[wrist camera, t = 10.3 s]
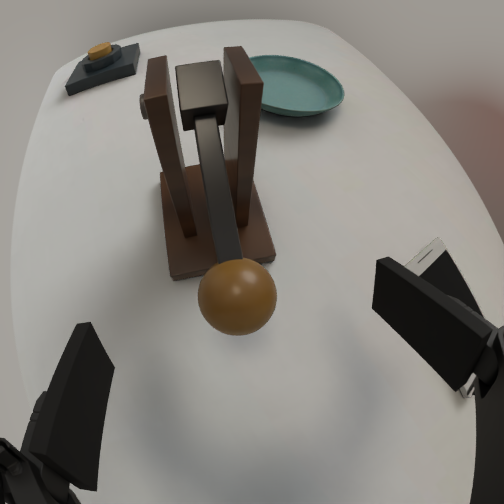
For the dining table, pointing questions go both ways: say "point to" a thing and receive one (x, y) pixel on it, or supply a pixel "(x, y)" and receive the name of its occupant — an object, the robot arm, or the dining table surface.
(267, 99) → the saucer
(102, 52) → the bell button
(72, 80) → the push button box
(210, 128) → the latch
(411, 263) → the smartphone
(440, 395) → the dining table surface
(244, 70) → the latch bracket
